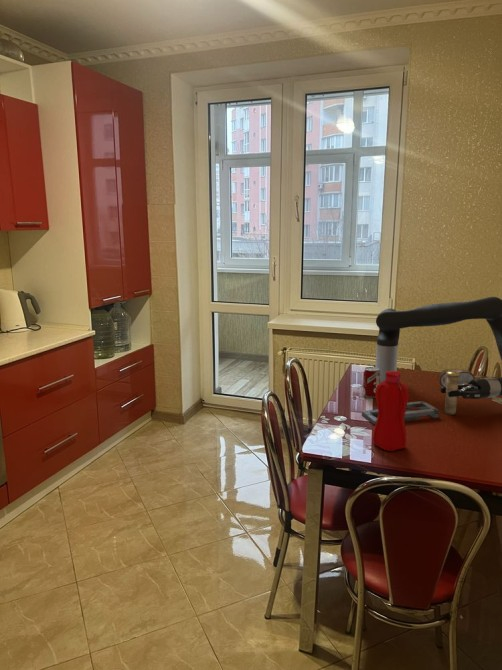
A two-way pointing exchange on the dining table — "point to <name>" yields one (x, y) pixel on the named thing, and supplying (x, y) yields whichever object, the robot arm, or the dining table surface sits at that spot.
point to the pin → (451, 386)
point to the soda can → (370, 381)
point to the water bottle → (391, 413)
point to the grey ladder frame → (408, 412)
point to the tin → (463, 378)
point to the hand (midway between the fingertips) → (445, 392)
